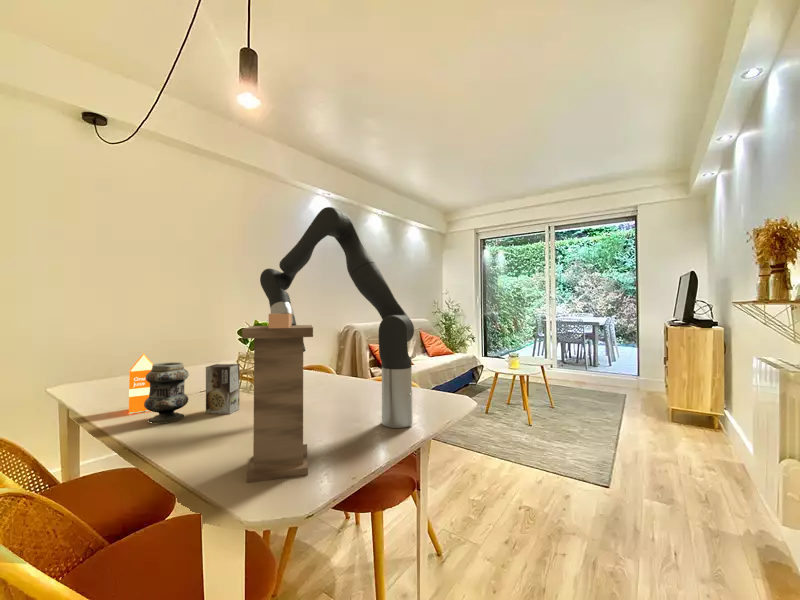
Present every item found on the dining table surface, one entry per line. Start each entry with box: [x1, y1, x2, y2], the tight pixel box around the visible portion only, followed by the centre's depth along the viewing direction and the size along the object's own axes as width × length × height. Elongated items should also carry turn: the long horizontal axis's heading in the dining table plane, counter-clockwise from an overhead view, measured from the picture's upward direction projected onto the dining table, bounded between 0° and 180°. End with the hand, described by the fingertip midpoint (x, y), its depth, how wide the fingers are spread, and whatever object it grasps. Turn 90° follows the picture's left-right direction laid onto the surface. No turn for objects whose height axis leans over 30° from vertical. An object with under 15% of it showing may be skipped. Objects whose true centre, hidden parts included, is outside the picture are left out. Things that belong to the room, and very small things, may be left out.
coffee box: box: [205, 363, 240, 415], centre depth 124 cm, size 9×6×16 cm
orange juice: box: [128, 352, 154, 414], centre depth 127 cm, size 8×9×20 cm
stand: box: [241, 324, 314, 483], centre depth 82 cm, size 16×14×31 cm
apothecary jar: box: [144, 361, 190, 424], centre depth 116 cm, size 12×12×18 cm
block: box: [268, 313, 292, 328], centre depth 87 cm, size 26×4×3 cm, turn 15°
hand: (291, 360), depth 114 cm, fingers open, 8 cm apart
